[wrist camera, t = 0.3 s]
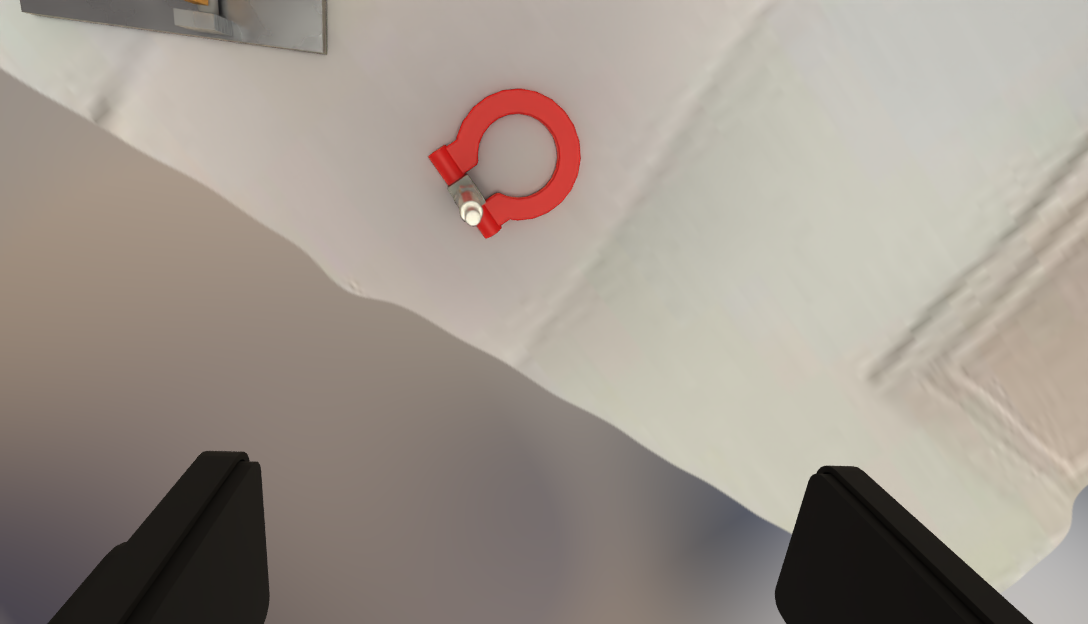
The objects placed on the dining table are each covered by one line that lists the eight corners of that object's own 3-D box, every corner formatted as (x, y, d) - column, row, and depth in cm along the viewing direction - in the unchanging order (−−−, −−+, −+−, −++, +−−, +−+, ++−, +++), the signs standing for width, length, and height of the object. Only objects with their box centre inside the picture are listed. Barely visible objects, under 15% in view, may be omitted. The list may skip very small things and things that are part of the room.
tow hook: (534, 63, 36) (418, 144, 36) (577, 26, 23) (402, 148, 24) (598, 173, 38) (491, 247, 39) (667, 191, 26) (509, 298, 27)
